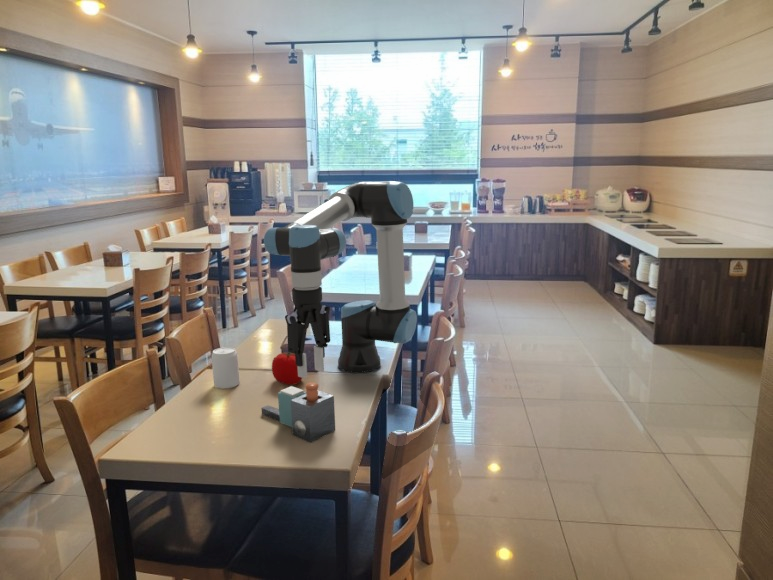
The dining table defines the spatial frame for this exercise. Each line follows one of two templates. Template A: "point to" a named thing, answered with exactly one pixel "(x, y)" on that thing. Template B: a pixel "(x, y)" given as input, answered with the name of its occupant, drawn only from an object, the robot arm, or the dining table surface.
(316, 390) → the plunger
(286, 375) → the tomato
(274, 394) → the dining table surface
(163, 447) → the dining table surface
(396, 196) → the robot arm
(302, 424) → the grey box
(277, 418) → the rail
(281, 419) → the block
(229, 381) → the beverage can
